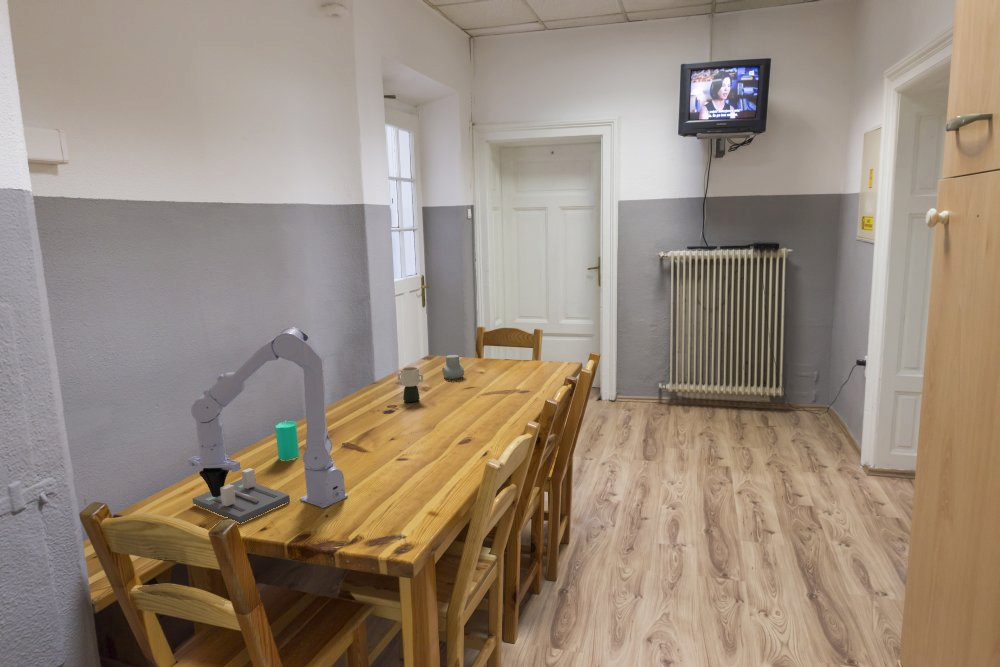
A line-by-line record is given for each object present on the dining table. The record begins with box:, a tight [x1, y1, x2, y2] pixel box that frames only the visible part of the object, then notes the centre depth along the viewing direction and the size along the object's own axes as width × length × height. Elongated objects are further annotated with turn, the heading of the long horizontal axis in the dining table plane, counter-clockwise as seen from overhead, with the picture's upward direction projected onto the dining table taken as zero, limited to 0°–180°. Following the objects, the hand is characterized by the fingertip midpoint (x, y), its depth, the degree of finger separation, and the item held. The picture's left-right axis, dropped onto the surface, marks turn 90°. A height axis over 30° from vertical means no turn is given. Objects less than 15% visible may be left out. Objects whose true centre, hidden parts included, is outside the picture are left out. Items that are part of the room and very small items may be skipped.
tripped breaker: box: [220, 483, 236, 506], centre depth 155 cm, size 2×2×4 cm
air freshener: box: [441, 354, 465, 380], centre depth 282 cm, size 11×8×10 cm
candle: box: [274, 419, 300, 460], centre depth 191 cm, size 6×6×12 cm
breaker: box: [241, 467, 257, 489], centre depth 165 cm, size 2×2×4 cm
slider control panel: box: [192, 478, 291, 525], centre depth 160 cm, size 20×14×3 cm
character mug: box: [397, 366, 424, 403], centre depth 247 cm, size 11×7×13 cm, turn 71°
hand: (217, 495), depth 158 cm, fingers closed
